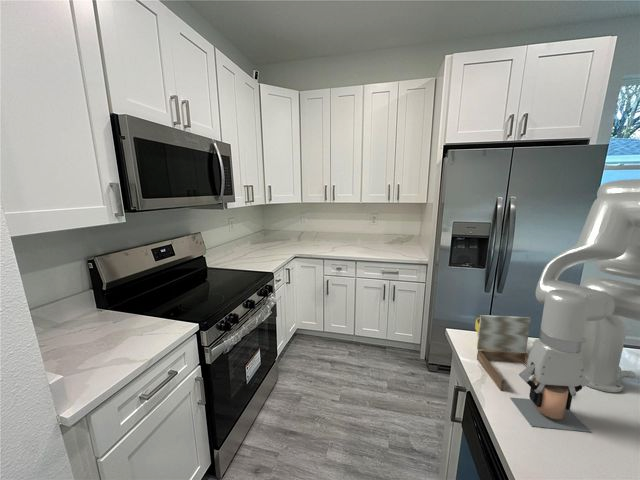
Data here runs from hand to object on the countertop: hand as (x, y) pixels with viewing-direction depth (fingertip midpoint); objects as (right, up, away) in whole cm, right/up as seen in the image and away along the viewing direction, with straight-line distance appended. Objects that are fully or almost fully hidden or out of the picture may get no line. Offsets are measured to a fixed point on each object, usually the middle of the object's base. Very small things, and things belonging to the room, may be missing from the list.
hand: (549, 403), depth 65 cm
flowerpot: (0, -2, 0) cm, 2 cm away
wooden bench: (+2, 0, +15) cm, 15 cm away
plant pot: (+4, +2, +29) cm, 29 cm away
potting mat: (0, -3, +1) cm, 3 cm away
